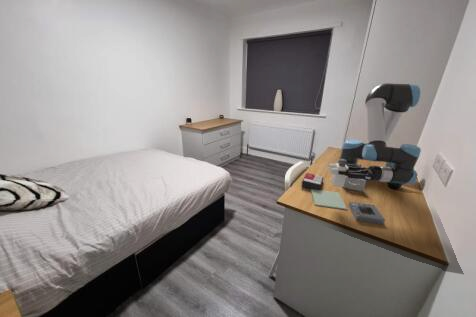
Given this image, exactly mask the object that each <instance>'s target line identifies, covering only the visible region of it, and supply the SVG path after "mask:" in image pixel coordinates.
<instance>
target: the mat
mask: <svg viewBox="0 0 476 317" xmlns="http://www.w3.org/2000/svg"><path fill="white" fill-rule="evenodd" d="M310 192H311V195H312V196H311V197H312V200H313V202H314V206H318V207H326V208H333V209H339V210H348V208H347V205H346V203H345V202H344V200H343V198H342V196H341V194H340V192H337V191H330V190H329V191H328V190H322V189H320V190H316V189H312V188H310Z"/></svg>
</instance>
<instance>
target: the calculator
mask: <svg viewBox="0 0 476 317" xmlns="http://www.w3.org/2000/svg"><path fill="white" fill-rule="evenodd" d="M323 180H324V176H323V175H318V174H314V173H308V172H307V173H306V174H305V175H304V177H303V179H302V181H301V186H302V187H303V188H304V187H305V188H308V189H314V190H322V189H321V187H322V184H323Z"/></svg>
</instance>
